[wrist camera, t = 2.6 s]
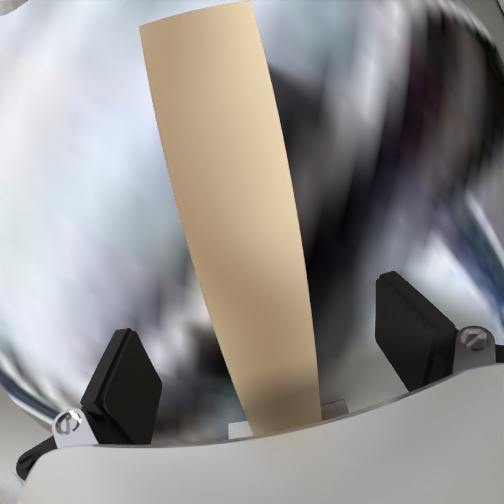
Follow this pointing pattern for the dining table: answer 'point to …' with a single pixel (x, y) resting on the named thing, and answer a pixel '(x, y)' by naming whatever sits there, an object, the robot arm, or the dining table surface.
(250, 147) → the tan wooden plank
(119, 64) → the dining table surface
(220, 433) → the dining table surface
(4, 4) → the paint palette
